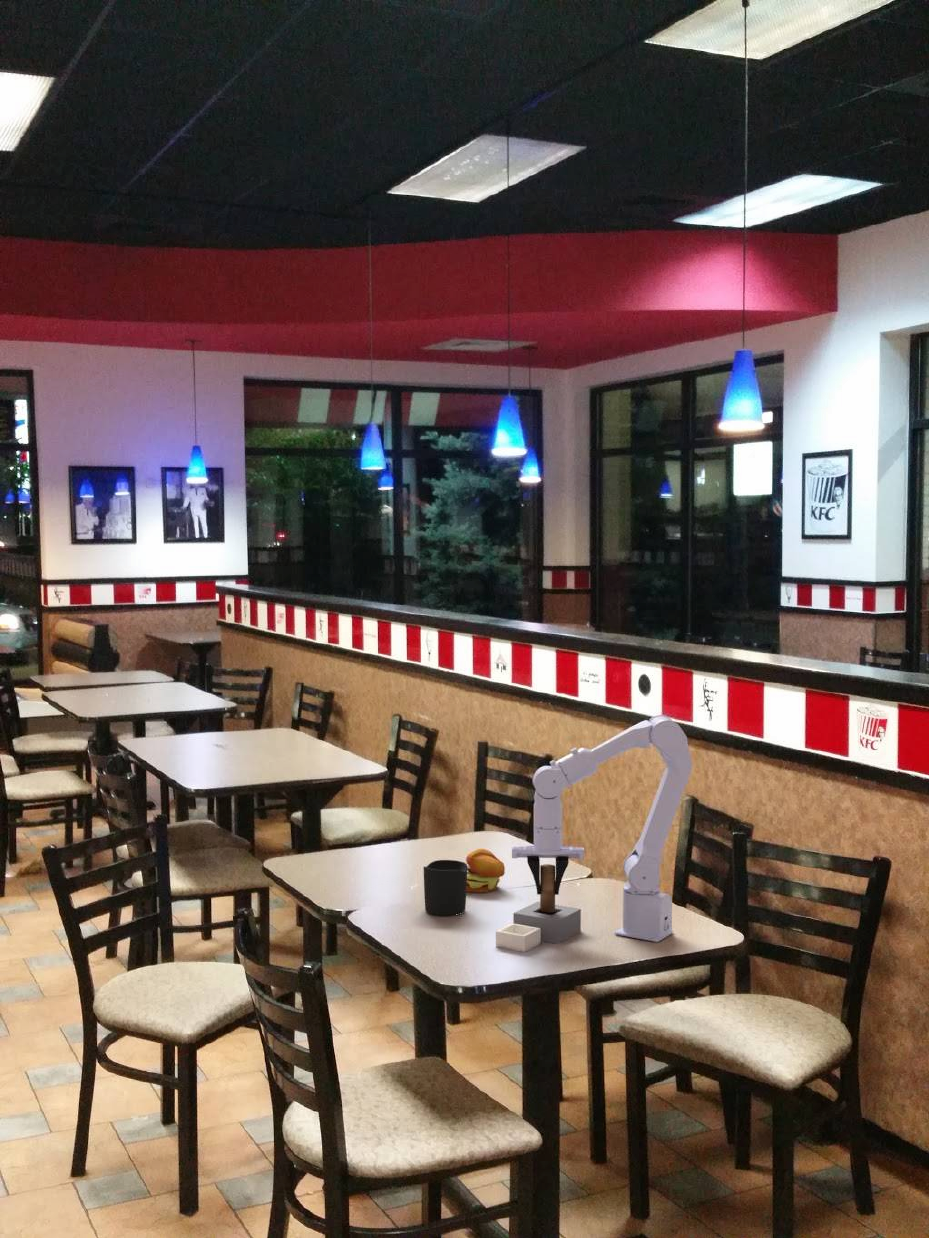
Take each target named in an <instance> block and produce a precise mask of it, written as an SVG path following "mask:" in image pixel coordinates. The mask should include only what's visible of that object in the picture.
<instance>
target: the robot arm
mask: <svg viewBox="0 0 929 1238" xmlns="http://www.w3.org/2000/svg"><path fill="white" fill-rule="evenodd" d="M651 744H652V746H653V747H654V748H655V749H656V750H657V751H658V752H659V755H660V756H661V758H662V761H663V763H664V764H665V768H664V772H663V775H662V777H661V780H660V782H659V786H658V788H657V791H656V794H655V797H654V799H653V802H652V805H651V807H650V810H649V813H648V816H647V818H646V821H645V824H644V826H643V830H642V832H641V834H640V838H639V839H638V841H637V842H636V843H635V844H634V848H633V850H632V851H631V852H630V853H629V854H628V856H626V857H625V859H624V861H623V864H622V871H623V874H624V876H625V877H626V878H627V880H626V882H625V883H624V885H623V886H622V927H621V928H619V929H618V930H616V931H615V932H614V935H616V936H622V937H627V938H633V939H638V940H639V939H640V940H645V941H650V942H656V943H658V942H660V941H662V940H664V939H665V938H667V937H668V936H670V935H671V934H673V933H674V930H673V929H672V928H673V900H672V897H671V895H670V894H667V893H664V892H663V891H661V890H660V886H659V885H660V882H661V881H660V880H661V875H660V868H661V864H662V863H663V862H662V860H663V851H664V850H663V849H664V847H665V844H666V841H667V838H668V835H669V833H670V831H671V828H672V825H673V821H674V820H675V816H676V815H677V811H678V808H679V806H680V803H681V800H682V798H683V796H684V795H683V794H684V792H685V789H686V786H687V785H688V782H689V781H688V780H689V778H690V775H691V773H692V771H693V762H692V758H691V757H692V756H691V752H690V749H689V745H688V744H689V743H688V737H687V735H686V734H685V731H684V730H683V729H682V727H681V726H680V725H679V724H678V723H677V722H675V721H673V720H672V718H670V717H669V716H667V715H664V714H657V715H654V716H652V717H651V718H649V720H647V719H644V720H643V721H640V722H638V723H637V724H635V725H633V726H630V727H628V728H627V729H625V730H623V731H621V732H620V733H618V734H616V735H615V736H613V737H611V738H609V739H608V740H606V741H604V742H602V743H600V744H599V745H597V746H596V747H594V748H592V749H588V748H587V747H586V748H585V747H580V748H579V749H578V748H577V747H573V748H572V749H570V753H569V754H568V755H567V754H566V755H565V756H564V757H562V758H560V759H557V760H556V761H555V760H554V759H553V760H551V761H549V764H550V765H543V766H541V767H539V768H538V769H536V770H535V772H534V775H533V778H532V779H531V780H532V785H533V787H534V789H535V790H534V795H533V796H534V797H533V799H534V803H533V845H523V846H522V845H521V846H512V847H511V859H518V858H519V859H521V858H522V859H523V858H527V859H526V860H527V861H526V863H527V864H528V867H529V869H530V871H531V874H532V877H533V880H534V883H535V888H536V895H539V896H540V895H541V889H540V866H541V864H540V863H541V861H540V860H541V859H554V858H555V896H556V895H557V896H558V895H559V894H560V888H561V883H562V880H563V877H564V874H565V872H566V870H567V868H568V866H569V863H570V862H569V859H579V860H584V859H585V848H584V846H583V847H579V846H576V847H575V846H566V845H565V846H564V845H563V804H562V792H563V791H564V789H565V788H569V787H572V786H574V785H575V784H577V783H580V782H581V781H583V780H584V779H585V780H586V779H587V778H588V777H590V776H592V775H594V774H596V773H597V770H598V767H599V765H600V764H602V763H604V762H606V761H608V760H611V759H613V758H614V757H617V756H619V755H621V754H623V753H625V752H627V751H630V750H631V749H634V748H639V749H649V750H651Z"/></svg>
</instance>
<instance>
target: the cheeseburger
mask: <svg viewBox="0 0 929 1238" xmlns="http://www.w3.org/2000/svg"><path fill="white" fill-rule="evenodd" d="M465 863H466V864H467V888H466V892H470V893H477V894H478V893H486V892H487V893H488V892H493V891H495V890H496V889H497V888H498V885H499V883H500V881H501V880H500V877H504V876H505V873H506V872H505V871H506V869H505V864H504V862H503V861H501V860H500V859H499V858H498V857H497V856H496V855H495V854H494V853H492V851H490V850H487V849H485V848H477V849H474V850H473V851H471V852H470V853H469V854H468V855H467V856H466V859H465Z"/></svg>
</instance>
